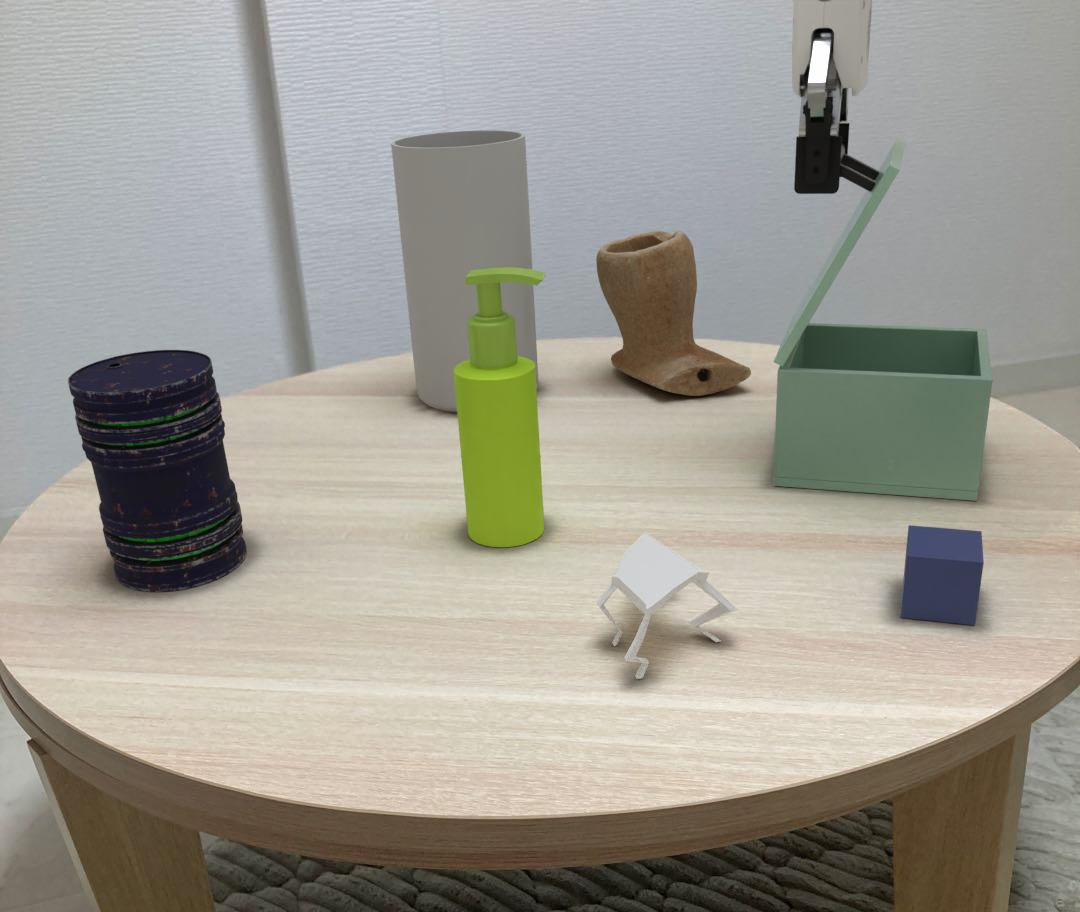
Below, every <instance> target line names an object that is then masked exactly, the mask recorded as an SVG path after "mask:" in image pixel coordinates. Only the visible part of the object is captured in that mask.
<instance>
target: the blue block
mask: <svg viewBox="0 0 1080 912" xmlns="http://www.w3.org/2000/svg"><path fill="white" fill-rule="evenodd" d="M907 527H908V529H907V538H906V548H905V558H904V566H903V576H902V577H903V578H902V591H901V605H900V618H902V619H909V620H910V619H911V620H919V621H930V622H939V623H949V624H958V625H966V626H967V625H969V626H976V622H977V614H978V606H979V599H980V593H981V585H982V579H983V578H982V577H983V569H984V547H983V534H982V533H983V532H982V530H973V529H972V530H971V529H958V528H948V527H947V528H946V527H936V526H934V527H932V526H923V525H922V526H921V525H911V524H910V525H908V526H907Z"/></svg>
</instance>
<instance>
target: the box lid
mask: <svg viewBox="0 0 1080 912" xmlns="http://www.w3.org/2000/svg"><path fill="white" fill-rule="evenodd" d="M905 146H906V142H905V141H902V140H901V139H899V138H896V139H895V141H894V142H893V144H892V146H891V148H890V149H889V151H888V152H887V154H886V155H885V158H884V159H883V161H882V163H881V164H880V166H879V168H878V169H876V168H874V167H872V166H870V165H868V164H867V163H865V162H862V161H861V160H859V159H856V158H855V157H853V156H851V155H849V154H848V155H847V154H845V147H844V144H843V143H842V146H841V162H840V176H841V177H840V178H843V179H844V180H847V181H849V182H851V183H852V184H854V185H857V186H858V187H860V188H862V189H864V190H865V192H864V193H863V195H862V197H861V198H860V200H859V202H858V204H857V206H856V207H855V209H854V210H853V212H852V214H851V215H850V218H849V219H848V221H847V222H846V224H845V226H844V227H843V229H842V231H841V233H840V234H839V236H838V238H837V240H836V241H835V243H834V245H833V246H832V248H831V250H830V252H829V253H828V255H827V257H826V259H825V260H824V262H823V263H822V265H821V267H820V268H819V270H818V272H817V274H816V276H815V277H814V279H813V281H812V283H810V286H809V287H808V289H807V291H806V293H805V294H804V296H803V297H802V300H801V301H800V303H799V304H798V306H797V308H796V310H795V312H794V313H793V315H792V317H791V319H790V322H789V324H788V327H787V329H786V331H785V334H784V336H783V339H782V341H781V343H780V345H779V348H778V350H777V352H776V355H775V357H774V359H773V363H775V364H776V365H778V366H779V367H780V366H782V367H783V365H784V363H785V362H786V360H787V358H788V357H789V355H790V353H791V352H792V350H793V348H794V347H795V345H796V343H797V342H798V340H799V338H800V337H801V335H802V333H803V332H804V330H805V328H806V327H807V325H808V323H811V322H810V321H811V320H812V319H813V317H814V315H815V313H816V312H817V310H818V308H819V306H820V305H821V303H822V302H823V300H824V298H825V296H827V295H826V294H827V293H828V291H829V290H830V288H831V287H832V285H833V283H834V282H835V280H836V278H837V276H838V275H839V273H840V272H841V269H842V268H843V266H844V265H845V263H846V261H847V260H848V257H849V256H850V255H851V254H852V251H853V249H854V248H855V246H856V244H857V243H858V241H859V239H860V238H861V236H862V234H863V233H864V232H865V229H866V228H867V226H868V224H869V223H870V221H871V219H872V217H873V216H874V214H875V213H876V211H877V209H878V208H879V206H880V204H881V202H882V201H883V199H884V197H885V196H886V194H887V192H888V191H889V189H890V187H891V185H893V182H894V180H895V179H896V178H897V175H898V174H899V172H900V171H901V170H900V169H901V166H902V161H903V156H904V151H905ZM846 166H847V167H846Z"/></svg>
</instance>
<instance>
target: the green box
mask: <svg viewBox="0 0 1080 912" xmlns="http://www.w3.org/2000/svg"><path fill="white" fill-rule="evenodd" d="M992 387H993V372H992V364H991V355H990V347H989V337H988V329H987V328H974V327H973V328H972V327H946V326H945V327H941V326H915V325H914V326H912V325H909V326H907V325H881V324H880V325H878V324H852V323H851V324H849V323H847V324H846V323H819V322H817V323H815V322H809V323H808V325H807V327H806V328H805V330H804V332H803V333H802V335H801V337H800V338H799V340H798V342H797V343H796V345H795V347H794V348H793V350H792V352H791V353H790V355H789V357H788V358H787V360H786V362H785V363H784V365H783V367H782V366H780V365H779V367H778V369H777V378H776V402H775V403H776V404H775V426H774V430H775V431H774V448H773V449H774V451H773V474H772V475H773V477H772V486H773V487H785V488H798V489H811V490H825V491H838V492H852V493H864V494H866V493H867V494H876V495H877V494H879V495H890V496H891V495H892V496H894V495H895V496H906V497H918V498H934V499H947V500H961V501H971V502H972V501H973V502H977V501H978V498H979V497H978V496H979V488H980V483H981V482H980V480H981V473H982V467H983V466H982V465H983V458H984V449H985V442H986V433H987V427H988V420H989V419H988V418H989V411H990V403H991V396H992Z"/></svg>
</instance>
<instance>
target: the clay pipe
mask: <svg viewBox="0 0 1080 912" xmlns="http://www.w3.org/2000/svg"><path fill="white" fill-rule="evenodd" d="M595 260H596V261H595V263H596V273H597V278H598V281H599V282H598V283H599V286H600V289H601V292H602V294H603V297H604V299H605V301H606V303H607V306H608V308H609V309H610V311H611V313H612V315H613V317H614V319H615V321H616V324H617V326H618V329H619V332H620V336H621V338H622V348H621V349H619V350H616V351H615V352H614V353H613V354H612V355H611V356H610V362H611V365H612V366H613V367H614V368H615V369H617V370H618V371H620V373H621V372H622V373H624V374H625V375H627V376H629V377H631V378H633V379H635V380H637V381H640V382H642V383H645V384H647V385H649V386H652V387H654V388H656V389H659V390H662V391H665V392H669V393H673V394H678V395H683V396H690V397H693V396H694V397H699V396H706V395H707V396H708V395H713V394H715V393H717V392H723V391H725V390H728V389H730V388H732V387H735V386H736V385H738V384H740V383H742V382H744V381H746V380H747V379H749V378H750V376H752V370H751V368H750V367H748V366H746V365H744V364H741V363H739V362H737V361H735V360H732V359H730V358H728V357H726V356H724V355H721V354H720V353H717V352H715V351H712V350H710V349H707V348H705V347H702V346H700V345H698V344H697V343H696V340H695V338H694V328H693V327H694V325H693V324H694V313H695V306H696V305H695V304H696V297H697V290H698V276H697V265H696V259H695V251H694V246H693V243H692V241H691V239H690V238H689V237H688V236H687V235H686V233H685V232H684V231H682V230H676V231H675V232H674V233H669V232H667V231H663V230H653V231H652V230H651V231H647V232H642V233H637V234H633V235H630V236H627V237H625V238H620V239H616V240H613V241H610V242H608V243H606V244H604V245H603V246H602V247H600V249H598V252H597V254H596V259H595Z"/></svg>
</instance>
